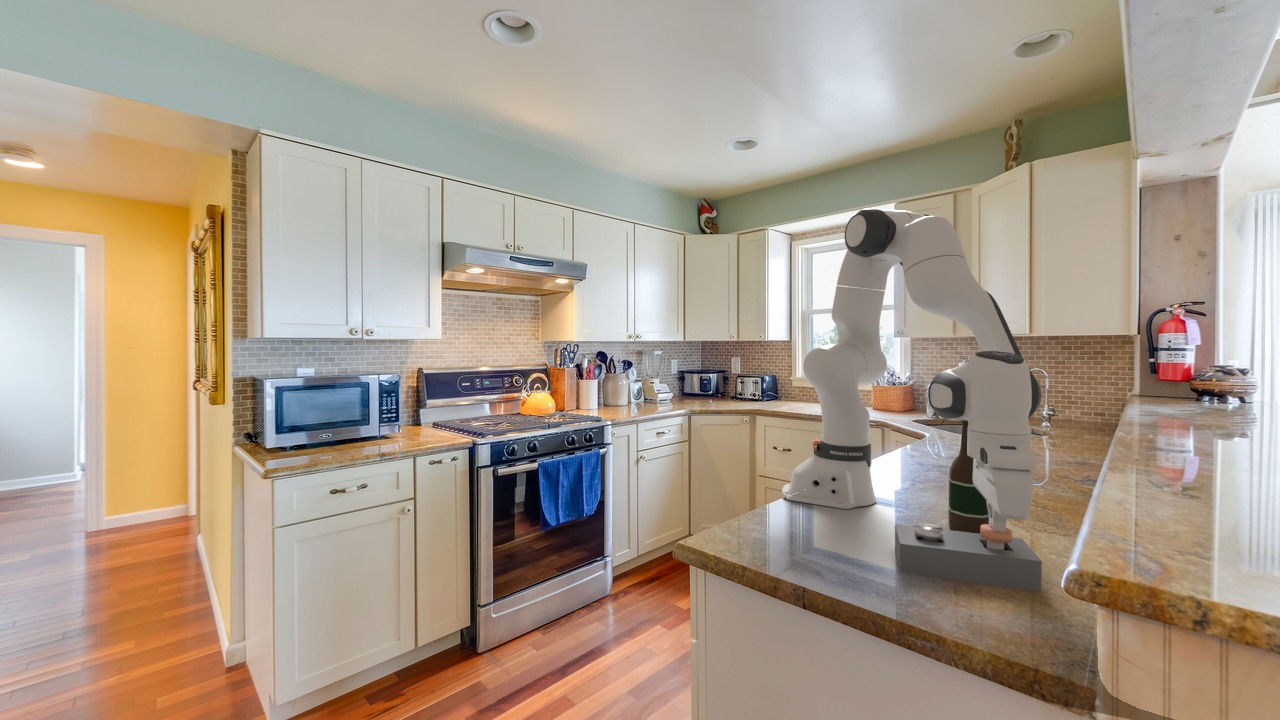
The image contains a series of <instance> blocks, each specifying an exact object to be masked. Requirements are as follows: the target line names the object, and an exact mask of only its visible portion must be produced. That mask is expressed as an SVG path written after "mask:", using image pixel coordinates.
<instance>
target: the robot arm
mask: <svg viewBox="0 0 1280 720" xmlns="http://www.w3.org/2000/svg"><path fill="white" fill-rule="evenodd" d="M844 243H845V246H846V248H847V250H846V253H845V255H844V258H843V261H842V263H841V267H840V270H839V273H838V277H837V281H836V286H835V292H834V298H833V304H832V310H831V318H832V319H831V320H832V321H833V322H834V324H835V325H836V329H837V336H838V338H837V340H838V341H837V342H838V343H827V344H824V345H820V346H818V347H816V348H813V349H811V350H810V351H809V352H808V353H807V354H806V355H805V357H804V361H803V365H802V370H803V374H804V376H805V378H806V380H807V382H809V383H810V384H811V386H813V389H814V390H815V391H816V395H817V398H818V401H819V405H820V409H821V410H820V411H821V429H822V430H821V434H822V435H821V438H822V439H821V440H820V439H814V440H813V442H812V445H813V454H814V455H811V457H809V458H807V459H806V460H804V461H803V462H801V463H799V465H797V466H796V467H795V468H794V470H793V471H792V473H791V478H790V482H788V483H786V484H784V486H783V487H782V489H781V496H782V497H783V498H784V499H785V497H788V496H789V497H788V498H786V499H785V500H787V501H793V502H798V503H799V502H801V503H804V504H805V503H806V504H811V505H812V504H813V505H816V506H817V505H818V506H822V507H823V506H825V507H830V508H836V509H841V510H842V509H843V510H850V509H853V508H857V507H865V506H866V507H867V506H871V505H874V504H875V503H876V502H877V498H876V495H875V491H874V487H873V481H872V474H871V466H872V463H873V462H872V460H873V459H872V457H873V454H872V453H873V452H872V451H873V449H872V445H871V443H870V412H869V410H868V409H867V408H866V406H864V404H863V401H862V399H861V395H860V392H859V387H862V386H863V387H865V386H869V385H870V384H872V383H875V382H877V381H878V380H880V379H882V377H883V376H885V373H886V372H887V368H888V362H887V361H888V360H887V357H886V356H885V354H884V352H883V350H882V345H881V336H880V323H881V321H880V320H881V314H882V310H883V305H884V299H885V294H886V288H887V282H888V276H889V273H890V271H891V269H892V268H893V267H894V266H895V265H897V264H899V265H900V266H901V267H902V270H903V276H904V281H905V286H906V289H907V292H908V295H909V297H910V298H911V300H912V302H913V303H914V304H915V305H916V306H917V307H918V308H921V309H922V310H924V311H925V312H927V313H931V314H932V315H937V316H940V317H942V318H943V317H944V318H946V319H949V320H951V321H954V322H956V323H958V324H959V325H962V326H964V327H965V328H967V330H969V331H970V332H971V333H972V335H973V336H974V338H975V340H976V342H977V345H978V348H979V349H980V351H978V352H975V353H973V354H972V355H971V356H970V358H969V359H968V361H967V362H965V363H963V364H961V365H958V366H955V367H953V368H950V369H946V370H942V371H939V372H938V373H937V374H935V376H934V377H933V378H932V380H931V381H930V384H929V386H928V392H927V393H928V394H927V397H928V403H929V406H930V408H931V409H932V411H934V412H935V414H936V415H938V416H939V417H940V418H942V419H944V420H948V421H957V422H958V421H959V422H961V421H968V432H967V455H968V456H970V457H972V458H973V485H974V487H975V488H976V489H977V490H978V491H979V492H980V493H981V495H982V496H983V497H984V498H985V499H986V504H987V509H988V514H989V524H990V525H991V527H992V528H993V530H995V531H999V532H1004V531H1005V530H1006V528H1007V521H1008V519H1009V520H1019V521H1026V520H1027V519H1028V518H1029V515H1030V513H1031V508H1032V507H1031V506H1032V499H1033V488H1034V487H1033V485H1034V479H1033V478H1034V477H1033V476H1034V475H1033V473H1032V471H1037V469H1038V458H1037V455H1036V454H1035V452H1034V451H1033V445H1032V429H1031V425H1030V424H1029V418H1031V417H1032V416H1033V415H1034V414H1035V413H1036V411H1037V410H1038V409H1039V407H1040V405H1041V402H1042V397H1043V395H1042V394H1043V393H1042V388H1041V385H1040V384H1039V381H1038V379H1037V378H1036V377H1035V375H1034V373H1033V372H1032V371H1031V369H1030V368H1029V365H1028V363H1027V360H1026V359H1025V358H1024V357H1023V356H1022V353H1021V351H1020V350H1019V346H1018V345H1017V342H1016V341H1015V338H1014V336H1013V334H1012V332H1011V329H1010V327H1009V325H1008V323H1007V321H1006V318H1005V316H1004V314H1003V312H1002V310H1001V307H1000V306H999V304H998V303H997V300H996V299H995V297H994V296H993V295H992V294H991V293H990V292H988V291H987V290H986V289H984V288H983V287H982V286H981V284H980V283H979V282H978V281H977V280H976V278H975V276H974V275H973V274H972V272H971V269H970V268H969V265H968V262H967V257H966V254H965V251H964V248H963V244H962V243H961V240H960V238H959V235H958V234H957V231H956V230H955V228H954V226H953V224H952V223H951V222H950V221H949V220H948V219H947V218H945V217H943V216H940V215H929V214H922V213H918V212H913V211H909V210H906V209H905V210H904V209H898V210H896V209H882V208H881V209H880V208H879V207H878V208H877V207H871V208H869V207H867V208H862V209H859V210H857V211H856V212H854V214H853V215H852V216H851V217H850V218H849V220H848V221H847V224H846V226H845V229H844ZM804 489H805V490H804ZM797 492H798V493H797ZM794 493H796V494H794ZM792 494H794V495H792ZM790 495H792V496H790Z"/></svg>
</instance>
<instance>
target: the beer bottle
mask: <svg viewBox="0 0 1280 720" xmlns="http://www.w3.org/2000/svg"><path fill="white" fill-rule="evenodd" d="M960 422H961V423H962V425H961V435H960V436H961V437H960V445H959V446H960V448H959V452H958V455H957V456H956V457H955V459H954V460H953V461H952V463H951V466H950V467H949V473H948V474H949V475H948V528H949V530H952V531H961V532H969V533H978V534H980V527H981V525H984V524H989V514H988V509H987V504H986V499H985V498H984V497H983V496H982V495H981V493H980V492H979V491H978V490H977V489H976V488H975V487H974V485H973V458H972V457H970V456H968V455H967V432H968V421H960Z"/></svg>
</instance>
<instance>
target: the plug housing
mask: <svg viewBox="0 0 1280 720" xmlns="http://www.w3.org/2000/svg"><path fill="white" fill-rule="evenodd" d="M894 525H895V526H894V551H895V556H896V561H897V565H898V571H899V573H902V574H903V573H904V574H911V575H918V576H922V577H923V576H924V577H929V578H930V577H931V578H936V579H937V578H939V579H944V580H946V579H947V580H952V581H959V582H966V583H972V584H980V585H987V586H994V587H1000V588H1001V587H1002V588H1008V589H1013V590H1014V589H1015V590H1023V591H1030V592H1036V593H1042V572H1043V571H1042V569H1043V568H1042V567H1043V566H1042V564H1043V561H1042V559H1040V558H1039V557H1038V555H1037V554H1036V553H1035V551H1034V550H1033V549H1032V548H1031V547H1030V546H1029V545H1028V544H1027V542H1026V541H1025V540H1024V539H1023V538H1021V537H1013V536H1012V542H1010V543H1004V550H999V549H991V548H987V540H986V539H983V538H982V537H981V536H980V534H978V533H969V532H961V531H952V530H950V529H943V540H942V541H937V542H933V541H925V540H921V539H920V538H918V537H916V536H915V525H905V524H898V523H895V524H894Z"/></svg>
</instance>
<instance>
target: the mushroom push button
mask: <svg viewBox="0 0 1280 720" xmlns="http://www.w3.org/2000/svg"><path fill="white" fill-rule="evenodd" d="M980 536H981V537H982V538H983V539H986V540H987V548H991V549H999V550H1004V543H1010V542H1012V537H1013V531H1012V529H1010V528H1008V527H1006V530H1005V531H1004V532H999V531H995V530H993V528H992V527H991V525H990V524H984V525H981V527H980Z"/></svg>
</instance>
